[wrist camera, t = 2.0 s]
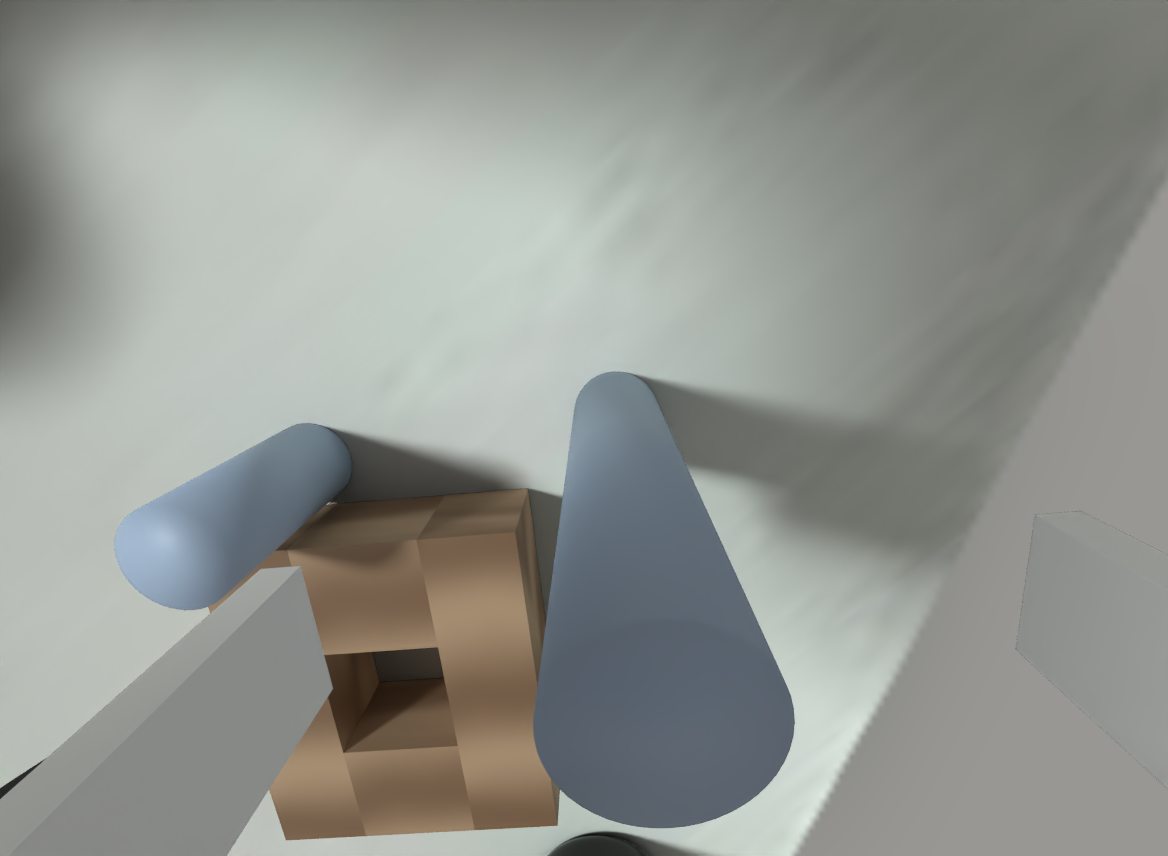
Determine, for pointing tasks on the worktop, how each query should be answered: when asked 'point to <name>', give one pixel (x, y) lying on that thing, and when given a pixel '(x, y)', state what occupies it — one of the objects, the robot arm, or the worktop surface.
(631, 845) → the supplement bottle
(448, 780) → the collar block
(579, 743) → the long dowel
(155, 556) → the short dowel
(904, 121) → the worktop surface
